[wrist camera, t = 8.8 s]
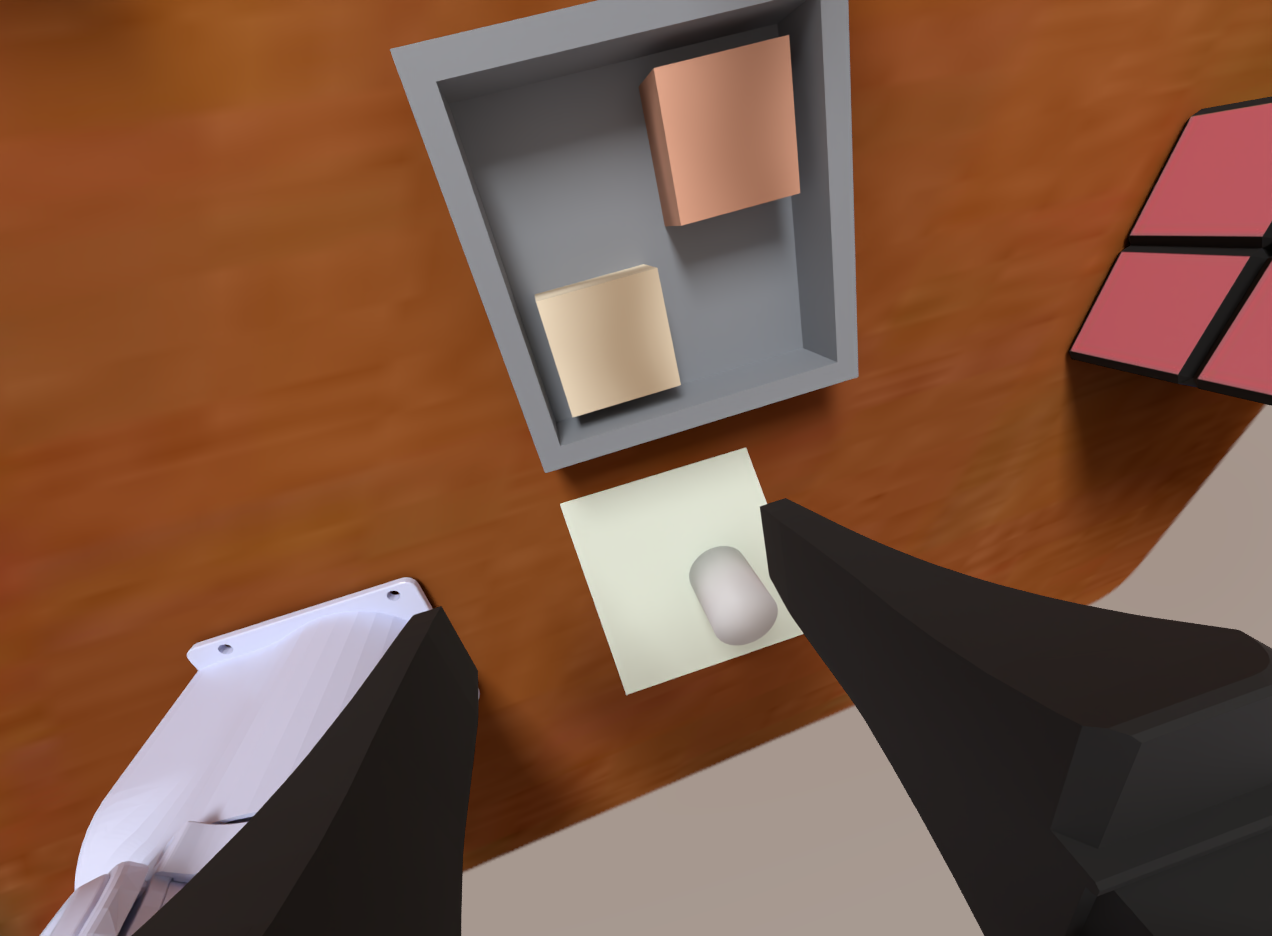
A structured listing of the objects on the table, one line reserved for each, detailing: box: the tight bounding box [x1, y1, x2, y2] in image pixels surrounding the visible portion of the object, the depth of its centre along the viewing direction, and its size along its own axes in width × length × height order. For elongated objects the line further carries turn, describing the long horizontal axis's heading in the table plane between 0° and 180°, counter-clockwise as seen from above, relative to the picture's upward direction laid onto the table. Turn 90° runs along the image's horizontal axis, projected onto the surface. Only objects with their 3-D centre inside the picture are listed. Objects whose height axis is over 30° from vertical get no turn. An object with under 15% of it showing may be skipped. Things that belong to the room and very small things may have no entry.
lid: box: [560, 448, 804, 695], centre depth 24 cm, size 13×13×4 cm
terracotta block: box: [639, 35, 800, 226], centre depth 16 cm, size 4×4×2 cm
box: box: [390, 0, 858, 473], centre depth 17 cm, size 12×12×3 cm
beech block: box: [535, 264, 681, 417], centre depth 18 cm, size 4×4×2 cm
